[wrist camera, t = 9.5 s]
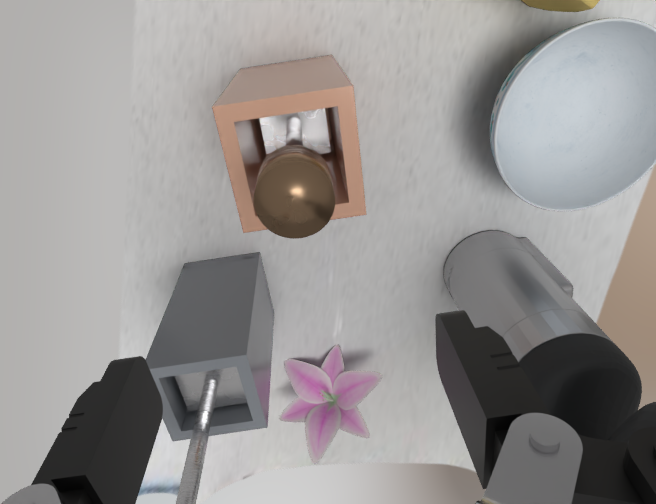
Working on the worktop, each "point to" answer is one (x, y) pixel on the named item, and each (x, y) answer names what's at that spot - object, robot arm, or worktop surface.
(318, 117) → the bronze knob plunger
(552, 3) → the cheese
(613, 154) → the chinaware
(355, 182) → the press terracotta
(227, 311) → the grey square holder
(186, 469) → the tall bronze-capped rod
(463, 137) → the worktop surface
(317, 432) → the lily
